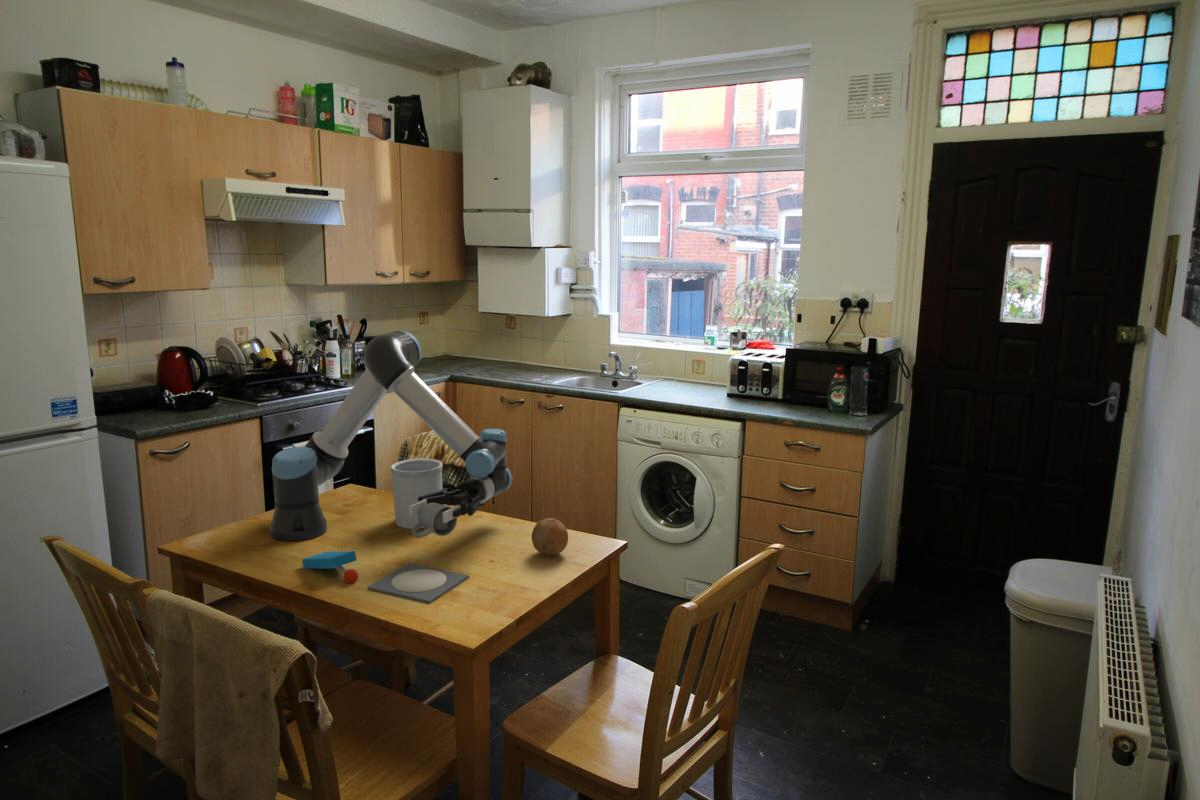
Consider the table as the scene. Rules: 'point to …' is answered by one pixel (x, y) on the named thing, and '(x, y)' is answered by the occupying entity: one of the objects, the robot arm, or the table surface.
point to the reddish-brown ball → (549, 537)
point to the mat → (418, 582)
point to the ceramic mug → (433, 521)
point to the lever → (334, 563)
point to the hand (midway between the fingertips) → (427, 514)
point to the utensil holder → (413, 486)
